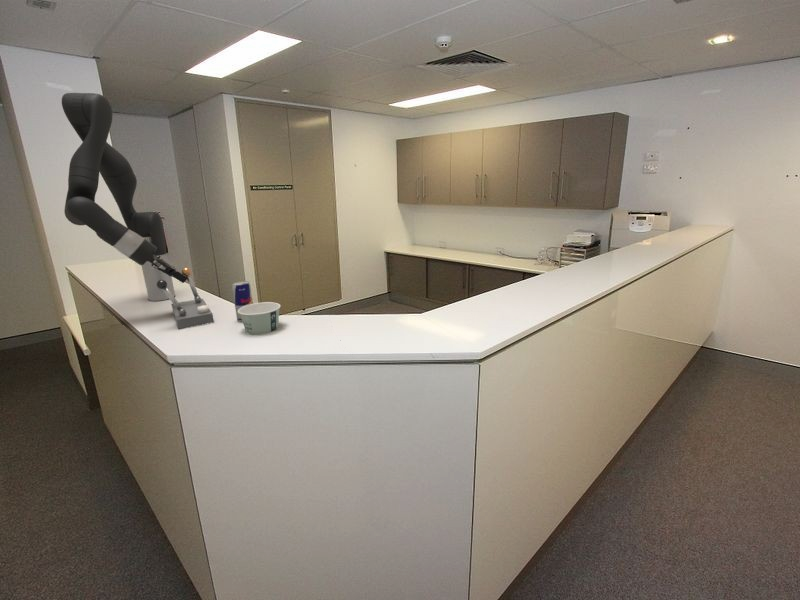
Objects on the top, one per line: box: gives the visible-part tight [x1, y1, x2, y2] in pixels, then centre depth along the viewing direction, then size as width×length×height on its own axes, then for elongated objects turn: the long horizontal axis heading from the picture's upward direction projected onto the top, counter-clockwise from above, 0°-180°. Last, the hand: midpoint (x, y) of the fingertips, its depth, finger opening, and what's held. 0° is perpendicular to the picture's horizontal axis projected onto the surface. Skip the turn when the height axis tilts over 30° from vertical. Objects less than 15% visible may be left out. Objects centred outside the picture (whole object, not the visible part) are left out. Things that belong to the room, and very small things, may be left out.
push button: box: [197, 304, 210, 313], centre depth 130 cm, size 3×3×2 cm
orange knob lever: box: [181, 267, 202, 303], centre depth 139 cm, size 3×3×13 cm
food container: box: [238, 301, 281, 335], centre depth 121 cm, size 12×12×6 cm
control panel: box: [171, 298, 215, 330], centre depth 135 cm, size 22×10×3 cm, turn 32°
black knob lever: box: [156, 280, 186, 316], centre depth 124 cm, size 3×3×13 cm
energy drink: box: [231, 280, 254, 323], centre depth 129 cm, size 5×5×12 cm
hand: (185, 280), depth 137 cm, fingers closed
